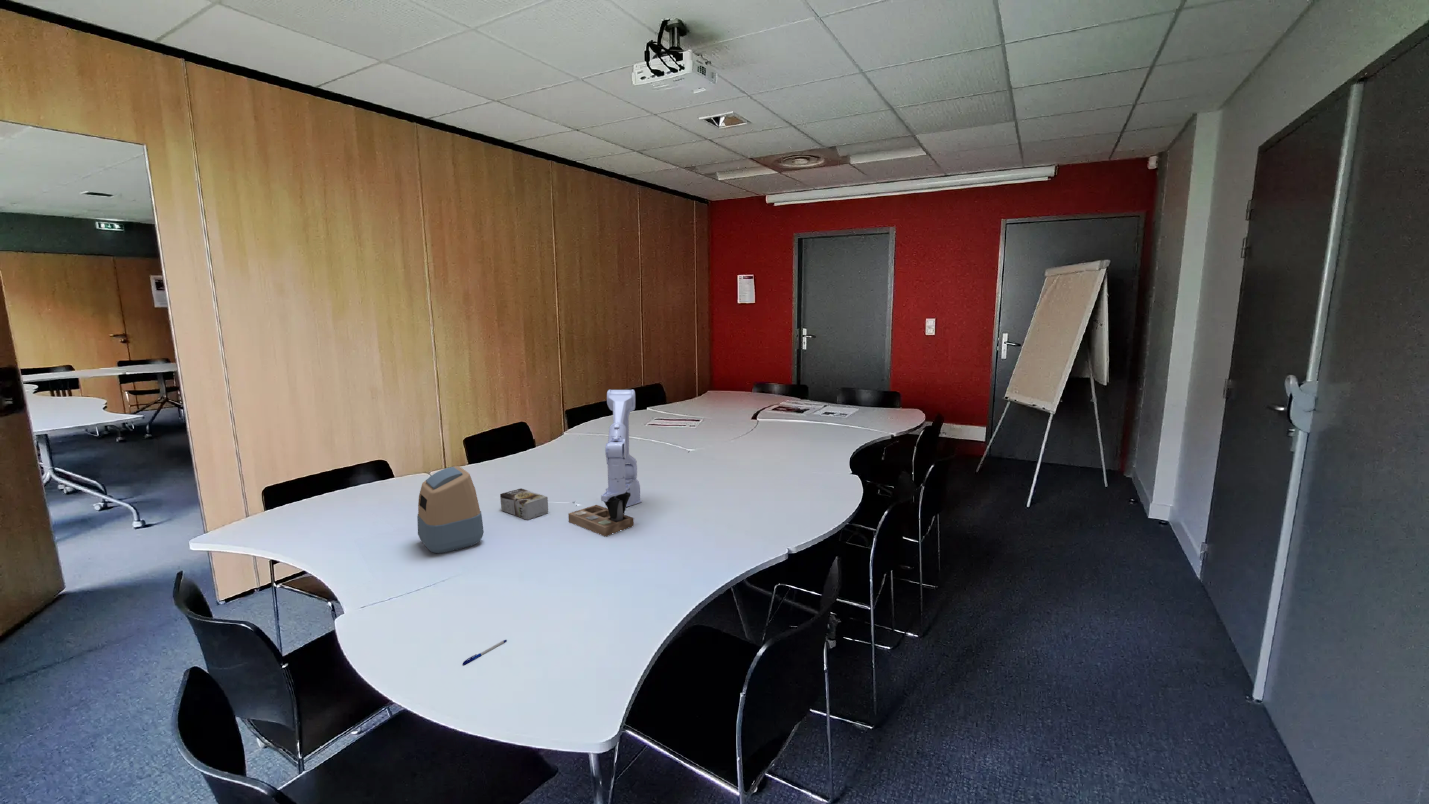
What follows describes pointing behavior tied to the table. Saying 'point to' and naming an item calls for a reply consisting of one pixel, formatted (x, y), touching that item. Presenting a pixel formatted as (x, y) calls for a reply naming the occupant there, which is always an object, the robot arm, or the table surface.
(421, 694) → the table surface
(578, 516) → the socket board
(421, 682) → the table surface
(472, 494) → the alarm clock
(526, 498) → the coffee box
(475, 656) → the ballpoint pen
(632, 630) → the table surface
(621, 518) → the plug
